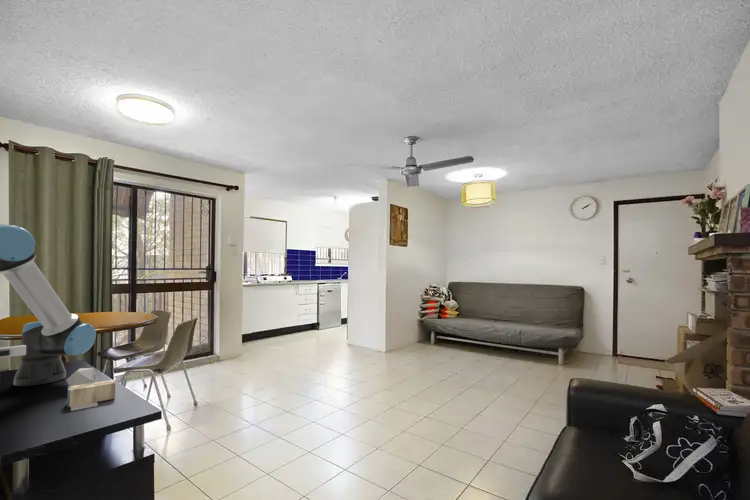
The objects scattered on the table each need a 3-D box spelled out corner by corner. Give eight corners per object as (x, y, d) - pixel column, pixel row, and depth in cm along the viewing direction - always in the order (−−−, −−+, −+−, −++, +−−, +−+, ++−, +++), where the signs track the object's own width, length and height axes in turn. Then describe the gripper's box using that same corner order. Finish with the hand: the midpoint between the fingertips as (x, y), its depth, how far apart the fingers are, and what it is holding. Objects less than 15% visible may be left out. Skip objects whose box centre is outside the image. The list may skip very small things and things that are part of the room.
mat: (70, 400, 121) (70, 399, 121) (95, 396, 125) (95, 395, 125) (70, 410, 112) (71, 409, 112) (97, 405, 116) (97, 404, 116)
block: (67, 386, 118) (113, 379, 126) (67, 402, 118) (113, 394, 126) (68, 390, 114) (115, 382, 122) (67, 407, 114) (114, 398, 122)
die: (72, 399, 125) (94, 373, 128) (54, 385, 127) (77, 360, 130) (88, 400, 132) (109, 375, 136) (72, 387, 134) (93, 363, 138)
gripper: (-93, 373, 100) (27, 358, 115) (-110, 385, 90) (23, 367, 105) (-92, 345, 100) (27, 334, 116) (-109, 353, 90) (24, 340, 106)
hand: (25, 349), depth 110 cm, fingers closed
